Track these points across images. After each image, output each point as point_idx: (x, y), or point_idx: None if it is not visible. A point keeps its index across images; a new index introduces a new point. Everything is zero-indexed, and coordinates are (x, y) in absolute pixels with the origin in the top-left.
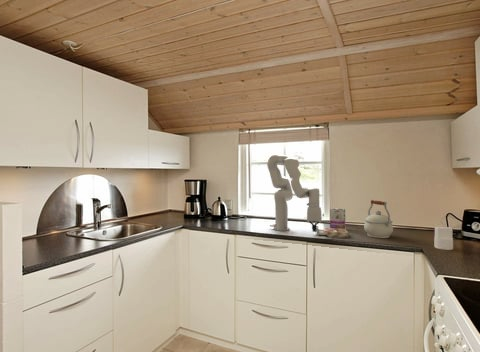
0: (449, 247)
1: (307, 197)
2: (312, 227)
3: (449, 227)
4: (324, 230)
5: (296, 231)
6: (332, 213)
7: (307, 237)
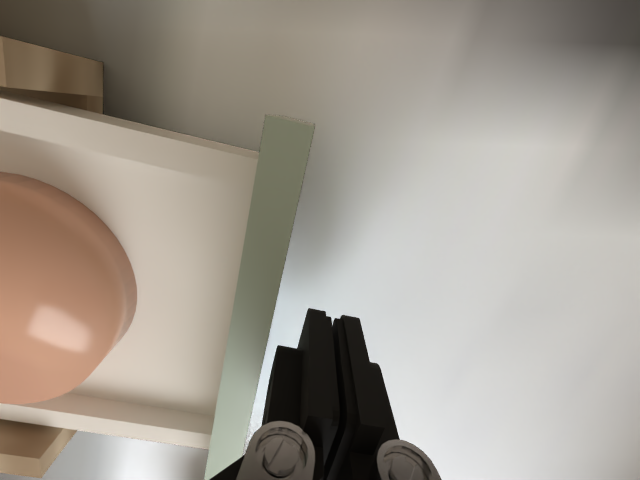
0: None
1: None
2: (377, 392)
3: None
4: (84, 262)
5: (518, 475)
6: None
7: (568, 21)
